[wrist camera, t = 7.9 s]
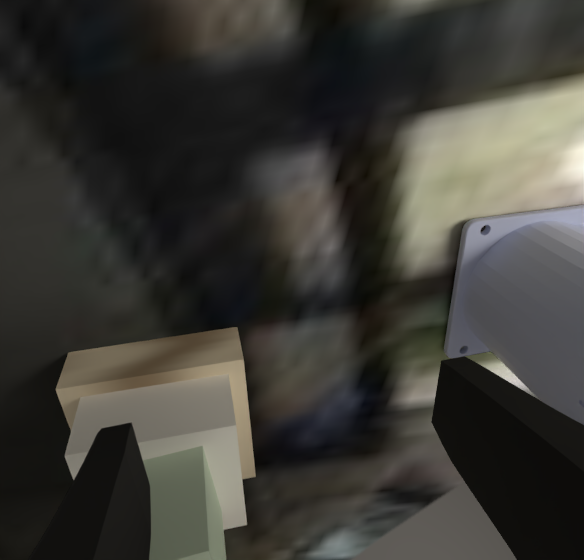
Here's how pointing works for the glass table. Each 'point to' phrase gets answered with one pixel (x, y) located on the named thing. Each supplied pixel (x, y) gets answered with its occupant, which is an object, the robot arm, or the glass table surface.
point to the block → (184, 508)
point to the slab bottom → (162, 374)
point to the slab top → (171, 430)
